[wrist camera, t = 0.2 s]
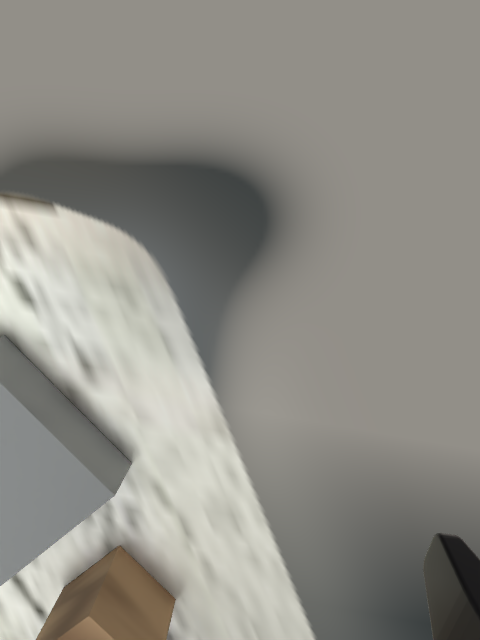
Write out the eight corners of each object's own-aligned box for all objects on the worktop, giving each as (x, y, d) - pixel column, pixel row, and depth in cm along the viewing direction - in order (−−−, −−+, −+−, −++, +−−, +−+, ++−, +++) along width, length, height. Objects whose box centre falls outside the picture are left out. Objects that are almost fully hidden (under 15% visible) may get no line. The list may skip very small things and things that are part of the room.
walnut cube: (119, 637, 29) (90, 722, 24) (64, 586, 29) (23, 663, 24) (175, 598, 28) (157, 678, 23) (120, 544, 28) (88, 615, 23)
